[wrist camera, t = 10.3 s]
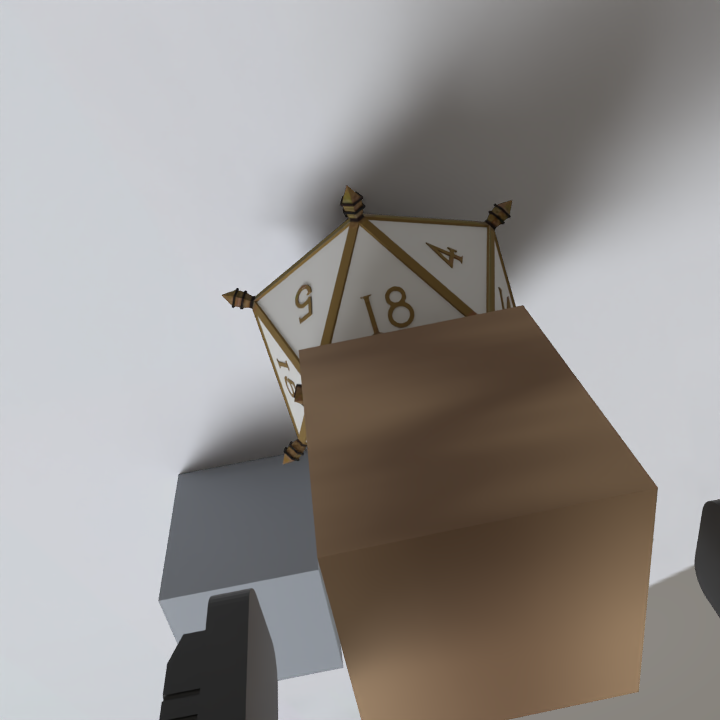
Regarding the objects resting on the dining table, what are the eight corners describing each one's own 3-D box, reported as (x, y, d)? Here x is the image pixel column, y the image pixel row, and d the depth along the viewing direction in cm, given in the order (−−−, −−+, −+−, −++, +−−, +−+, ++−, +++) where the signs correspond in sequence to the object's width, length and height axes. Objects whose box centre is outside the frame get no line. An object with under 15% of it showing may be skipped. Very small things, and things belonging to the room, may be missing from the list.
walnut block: (522, 305, 15) (657, 487, 10) (529, 477, 18) (638, 691, 12) (298, 350, 15) (317, 557, 10) (338, 516, 18) (369, 749, 12)
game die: (378, 190, 25) (599, 103, 17) (444, 403, 27) (677, 424, 18) (147, 260, 21) (283, 191, 12) (241, 509, 23) (420, 602, 14)
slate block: (307, 449, 26) (318, 569, 21) (328, 541, 29) (343, 667, 24) (178, 473, 26) (158, 601, 21) (211, 563, 29) (201, 696, 24)
